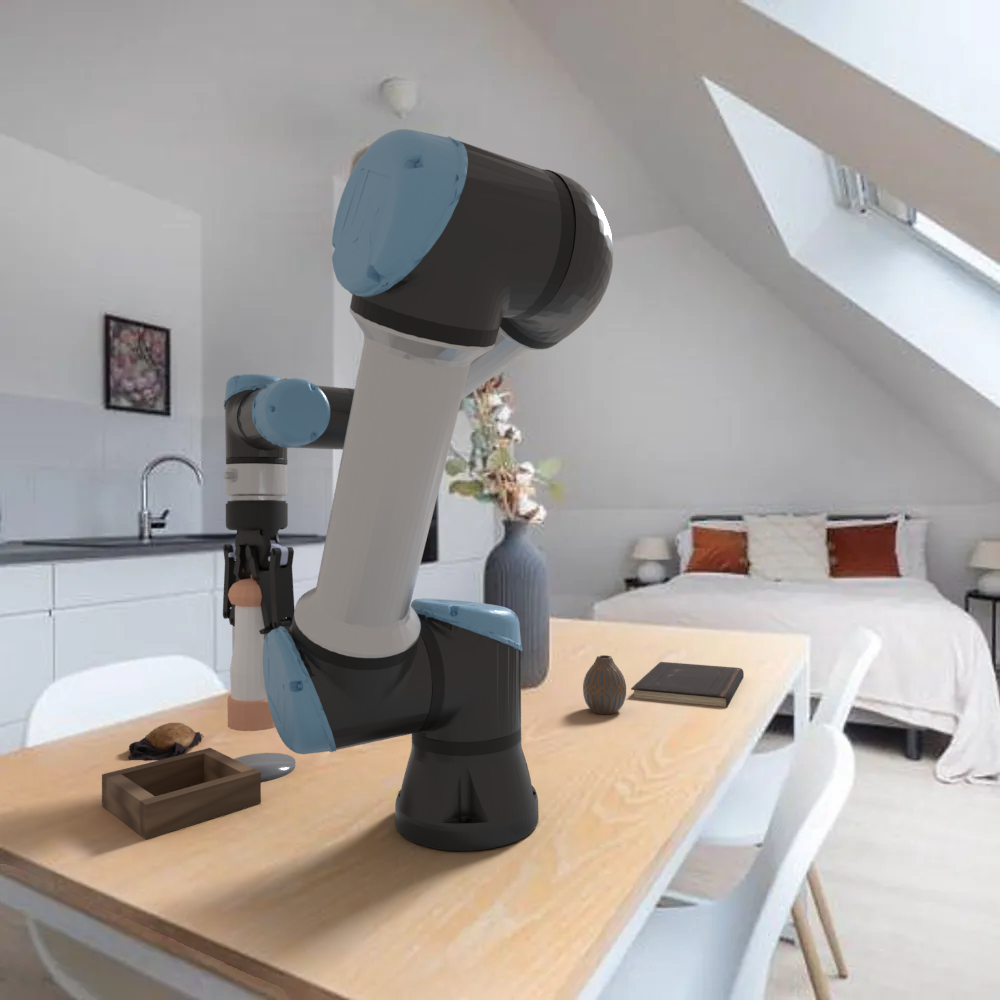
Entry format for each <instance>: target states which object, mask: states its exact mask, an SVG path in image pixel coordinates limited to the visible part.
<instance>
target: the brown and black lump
mask: <svg viewBox="0 0 1000 1000" xmlns="http://www.w3.org/2000/svg"><path fill="white" fill-rule="evenodd" d="M204 737H205V736H204V734H203V733H200V731H197V732H196V731H195V730H194V729H193V728H192V727H190V726H189V725H186V724H184V723H181V722H168V723H164V724H161V725H159V726H158V727H155V728H153V730H151V731H150V732H149V733H148V734H146V735H145V737H144V738H142V739H140V740H139V741H134V742H132V743H130V744H129V746H128V750H129V753H130V754H129V755H128V756H127V759H128V761H158V760H162V759H166V758H170V757H174V756H178V755H183V754H187V753H190V752H191V751H192V750H193V749H194V748H195V747H196V746H198V745H199V744H200V743H201V742H202V739H203V738H204Z"/></svg>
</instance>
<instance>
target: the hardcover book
mask: <svg viewBox="0 0 1000 1000" xmlns="http://www.w3.org/2000/svg"><path fill="white" fill-rule="evenodd" d="M744 675H745V674H744V670H743V668H741V667H732V666H723V665H707V664H695V663H693V664H692V663H681V662H667V661H660V662H658V663H657V664H656V665H655V666H654V667H653V668H651V670H650V671H649V672H647V673H646V674H645V675H644V676H643V677H642V678H641V679H640V680H638V681H637V682H636V683H635V684H634V685H632V687H631V688H630V690H632V691H633V698H634V699H643V700H644V699H645V700H652V701H663V702H671V703H684V704H693V705H702V706H712V707H713V706H714V707H724V708H728V707H729V705H730V703H731V701H732V699H733V697H734V696H735V693H736V692H737V690H738V688H739V687H740V684H741V682H742V681H743V679H744Z"/></svg>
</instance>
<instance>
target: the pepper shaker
mask: <svg viewBox="0 0 1000 1000" xmlns="http://www.w3.org/2000/svg"><path fill="white" fill-rule="evenodd" d="M228 597H229V600H230V602H231V604H234V605H236V606H235V641H234V647H233V654H231V663H230V669H229V675H230V676H229V677H230V695H229V696H227V728H229V729H230V730H234V731H238V732H239V731H241V732H256V731H257V732H258V731H266V730H272V729H276V727H275V724H274V722H273V719H272V715H271V712H270V708H269V704H268V700H267V695H266V689H265V687H262V686H261V634H260V632H259V630H261V629H264V622H263V616H262V611H261V605H260V604H261V599H262V595H261V590H260V587H259V585H258V584H257V582H256V581H255V580H253V579H252V575H251V578H250V579H242V580H240V581H238V582H236V583H234V584H233V585H232V586H231V588H230V589H229V593H228Z"/></svg>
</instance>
